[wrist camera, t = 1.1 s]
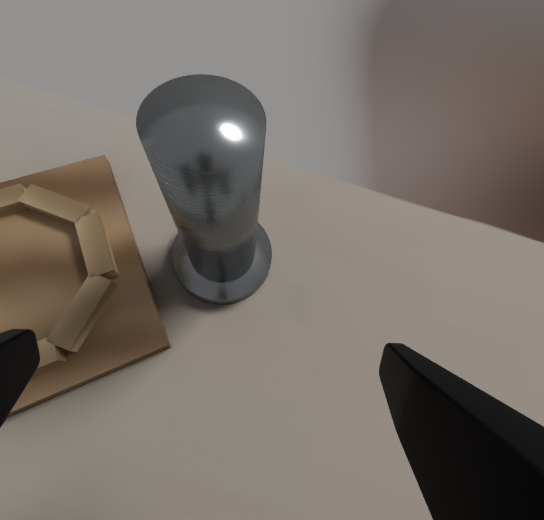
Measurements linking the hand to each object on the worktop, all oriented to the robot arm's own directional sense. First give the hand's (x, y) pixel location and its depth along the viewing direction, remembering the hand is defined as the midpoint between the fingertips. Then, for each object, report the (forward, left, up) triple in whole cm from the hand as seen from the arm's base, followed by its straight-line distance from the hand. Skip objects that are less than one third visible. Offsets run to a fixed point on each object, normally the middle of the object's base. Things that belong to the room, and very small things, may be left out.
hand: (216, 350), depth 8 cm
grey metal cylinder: (+4, +7, -13) cm, 15 cm away
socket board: (-8, +14, -13) cm, 20 cm away
